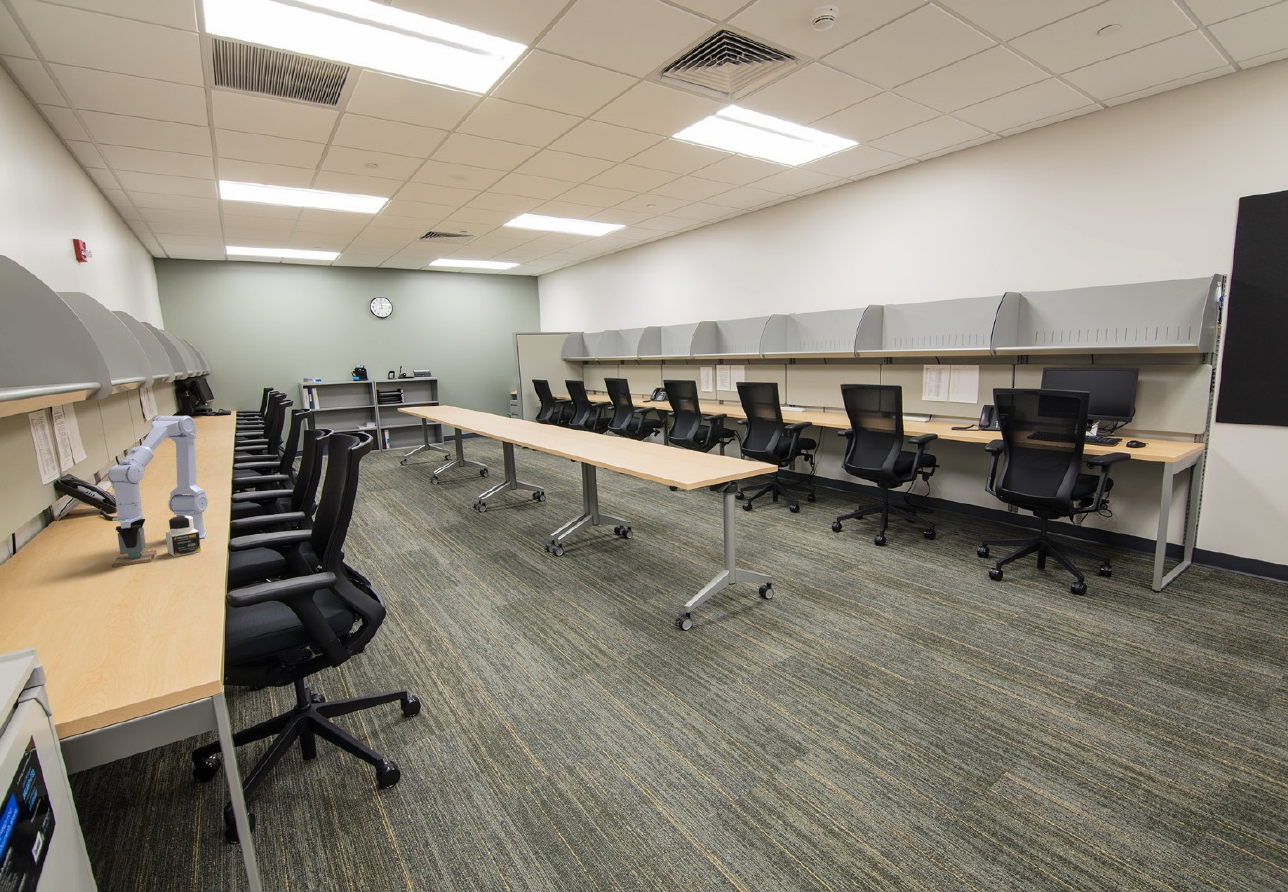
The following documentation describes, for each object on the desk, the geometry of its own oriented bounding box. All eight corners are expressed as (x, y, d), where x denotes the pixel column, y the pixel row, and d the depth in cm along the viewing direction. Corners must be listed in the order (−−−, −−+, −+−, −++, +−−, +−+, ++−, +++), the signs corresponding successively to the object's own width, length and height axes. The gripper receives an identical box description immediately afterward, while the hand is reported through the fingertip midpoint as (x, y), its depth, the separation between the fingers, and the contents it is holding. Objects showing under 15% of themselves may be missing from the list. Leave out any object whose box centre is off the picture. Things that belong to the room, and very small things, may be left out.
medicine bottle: (173, 557, 180) (170, 520, 179) (167, 552, 184) (163, 517, 183) (201, 551, 186) (197, 516, 184) (194, 547, 190) (190, 513, 189)
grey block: (124, 549, 178) (121, 529, 177) (145, 547, 180) (143, 527, 180) (120, 554, 173) (117, 533, 172) (142, 551, 176) (140, 531, 175)
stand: (119, 557, 179) (117, 539, 178) (156, 553, 184) (154, 535, 183) (112, 567, 171) (109, 548, 170) (150, 561, 176) (148, 543, 175)
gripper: (116, 499, 179) (121, 541, 181) (105, 509, 167) (110, 553, 169) (145, 497, 183) (150, 537, 184) (136, 506, 171) (141, 549, 172)
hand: (133, 545), depth 177 cm, fingers closed on grey block, 5 cm apart
